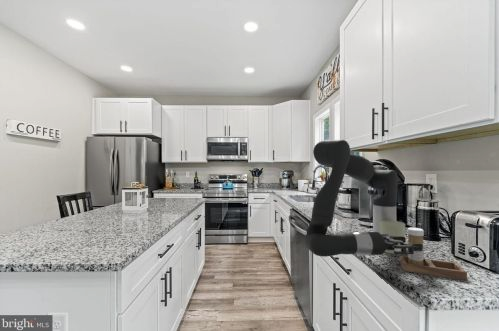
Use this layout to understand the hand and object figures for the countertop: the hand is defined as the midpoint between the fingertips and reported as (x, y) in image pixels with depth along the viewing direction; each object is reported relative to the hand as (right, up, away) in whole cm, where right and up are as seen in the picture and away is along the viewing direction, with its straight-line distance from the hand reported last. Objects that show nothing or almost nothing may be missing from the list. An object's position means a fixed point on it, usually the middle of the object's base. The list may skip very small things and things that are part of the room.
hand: (412, 243), depth 83 cm
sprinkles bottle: (+1, -9, 0) cm, 9 cm away
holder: (+5, -8, -2) cm, 10 cm away
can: (+4, -9, +18) cm, 21 cm away
